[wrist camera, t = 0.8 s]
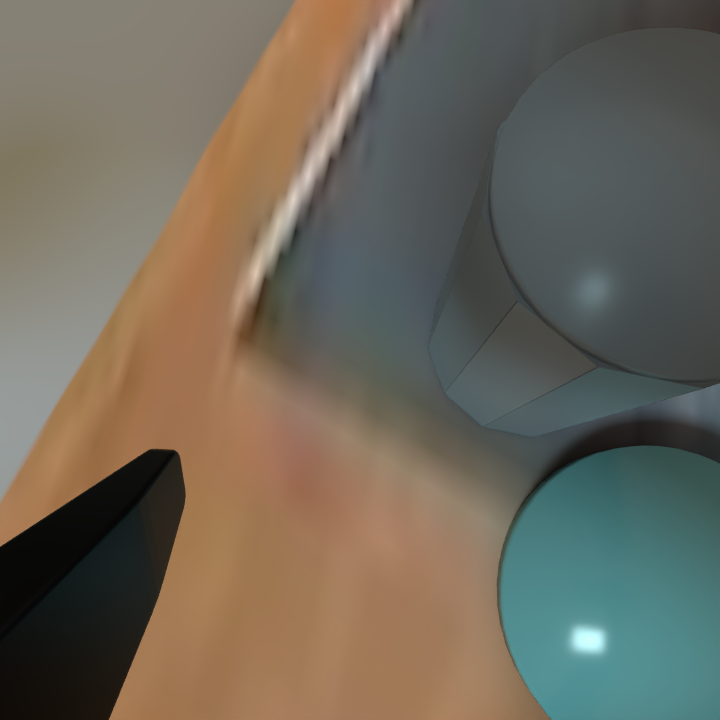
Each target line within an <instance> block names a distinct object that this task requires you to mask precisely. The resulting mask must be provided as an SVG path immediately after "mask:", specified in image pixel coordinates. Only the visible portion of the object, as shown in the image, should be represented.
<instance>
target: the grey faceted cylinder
mask: <svg viewBox="0 0 720 720" xmlns="http://www.w3.org/2000/svg"><path fill="white" fill-rule="evenodd" d="M428 349H429V351H430V354H431V357H432V360H433V363H434V366H435V368H436V371H437V374H438V377H439V380H440V383H441V385H442V388H443V391H444V393H445V394H446V395H447V396H448V397H449V398H450V399H451V400H453V401H454V402H455V403H456V404H457V405H458V406H460V407H461V408H462V409H463V410H464V411H465V412H466V413H468V414H469V415H470V416H471V417H472V418H473V419H474V420H476V421H477V422H478V423H479V424H480V425H481V426H483V427H487V428H491V429H496V430H501V431H505V432H510V433H515V434H519V435H524V436H529V437H536V436H539V435H543V434H546V433H550V432H553V431H557V430H560V429H564V428H567V427H571V426H574V425H577V424H581V423H584V422H588V421H591V420H595V419H598V418H602V417H605V416H609V415H612V414H616V413H619V412H623V411H626V410H630V409H633V408H637V407H640V406H644V405H647V404H651V403H654V402H658V401H661V400H665V399H668V398H672V397H675V396H679V395H682V394H686V393H689V392H693V391H696V390H700V389H703V388H706V387H709V386H712V385H715V384H719V383H720V34H718V33H713V32H709V31H704V30H697V29H688V28H647V29H638V30H630V31H626V32H622V33H618V34H613V35H609V36H607V37H604V38H601V39H598V40H596V41H593V42H590V43H588V44H586V45H584V46H582V47H580V48H578V49H576V50H574V51H572V52H570V53H568V54H567V55H565V56H564V57H562V58H561V59H560V60H558V61H557V62H555V63H554V64H552V65H551V66H550V67H549V68H548V69H546V70H545V71H544V72H543V73H542V74H541V75H540V76H539V77H538V78H537V79H535V80H534V82H533V83H532V84H531V85H530V86H529V88H528V89H527V90H526V91H525V92H524V94H523V95H522V96H521V97H520V99H519V101H518V102H517V104H516V106H515V107H514V109H513V110H512V112H511V114H510V115H509V117H508V118H507V119H506V120H505V121H504V122H503V123H502V124H501V125H500V126H499V128H498V130H497V133H496V136H495V139H494V142H493V145H492V147H491V150H490V153H489V156H488V159H487V162H486V164H485V167H484V170H483V173H482V176H481V179H480V181H479V184H478V187H477V190H476V193H475V196H474V198H473V201H472V204H471V207H470V210H469V213H468V216H467V218H466V221H465V224H464V227H463V230H462V233H461V235H460V238H459V241H458V244H457V247H456V250H455V252H454V255H453V258H452V261H451V264H450V267H449V269H448V272H447V275H446V278H445V281H444V284H443V286H442V289H441V292H440V295H439V298H438V301H437V305H436V310H435V315H434V320H433V325H432V330H431V335H430V340H429V345H428Z"/></svg>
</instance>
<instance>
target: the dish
mask: <svg viewBox="0 0 720 720" xmlns="http://www.w3.org/2000/svg"><path fill="white" fill-rule="evenodd" d="M497 605H498V612H499V618H500V625H501V629H502V632H503V636H504V639H505V643H506V646H507V649H508V651H509V653H510V656H511V658H512V661H513V663H514V666H515V667H516V669H517V671H518V673H519V675H520V676H521V678H522V680H523V682H524V683H525V685H526V687H527V688H528V689H529V691H530V692H531V693H532V695H533V696H534V698H535V699H536V700H537V702H538V703H539V704H540V706H541V707H542V708H543V710H544V711H545V712H546V714H547V715H548V716H549V717H550V718H551V719H552V720H720V463H718V462H716V461H713V460H711V459H709V458H706V457H704V456H701V455H699V454H695V453H692V452H688V451H685V450H681V449H676V448H669V447H662V446H632V447H623V448H615V449H608V450H604V451H600V452H596V453H592V454H589V455H586V456H584V457H581V458H579V459H576V460H574V461H572V462H570V463H568V464H567V465H565V466H563V467H561V468H560V469H558V470H556V471H555V472H554V473H553V474H551V475H550V476H549V477H547V478H546V479H545V480H544V481H542V482H541V483H540V485H539V486H538V487H537V488H536V489H535V490H534V491H533V492H532V493H531V494H530V495H529V496H528V498H527V499H526V501H525V502H524V503H523V505H522V506H521V507H520V509H519V510H518V512H517V514H516V516H515V518H514V520H513V522H512V524H511V525H510V528H509V530H508V533H507V536H506V538H505V541H504V544H503V548H502V552H501V556H500V561H499V567H498V577H497Z"/></svg>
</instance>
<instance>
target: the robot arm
mask: <svg viewBox="0 0 720 720" xmlns="http://www.w3.org/2000/svg"><path fill="white" fill-rule="evenodd" d="M185 497H186V494H185V485H184V479H183V473H182V466H181V460H180V456H179V454H178V452H176V451H175V450H169V449H150V450H148V451H146V452H145V453H143V454H142V455H140V456H138V457H137V458H135V459H134V460H132V461H131V462H129V463H128V464H126V465H125V466H123V467H122V468H120V469H119V470H117V471H115V472H114V473H112V474H111V475H109V476H108V477H106V478H105V479H103V480H102V481H100V482H99V483H97V484H96V485H94V486H93V487H91V488H89V489H88V490H86V491H85V492H83V493H82V494H80V495H79V496H77V497H76V498H74V499H73V500H71V501H70V502H68V503H66V504H65V505H63V506H62V507H60V508H59V509H57V510H56V511H54V512H53V513H51V514H50V515H48V516H47V517H45V518H43V519H42V520H40V521H39V522H37V523H36V524H34V525H33V526H31V527H30V528H28V529H27V530H25V531H24V532H22V533H20V534H19V535H17V536H16V537H14V538H13V539H11V540H10V541H8V542H7V543H5V544H4V545H2V546H1V547H0V720H109V718H110V716H111V713H112V711H113V708H114V706H115V703H116V701H117V699H118V696H119V694H120V691H121V689H122V686H123V684H124V681H125V679H126V676H127V674H128V671H129V669H130V667H131V664H132V662H133V659H134V657H135V654H136V652H137V649H138V647H139V644H140V642H141V640H142V637H143V635H144V632H145V630H146V627H147V625H148V622H149V620H150V617H151V615H152V613H153V610H154V607H155V605H156V602H157V599H158V597H159V593H160V590H161V587H162V584H163V580H164V577H165V573H166V570H167V566H168V562H169V559H170V555H171V552H172V548H173V545H174V541H175V537H176V534H177V530H178V527H179V523H180V520H181V516H182V512H183V509H184V505H185Z"/></svg>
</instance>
